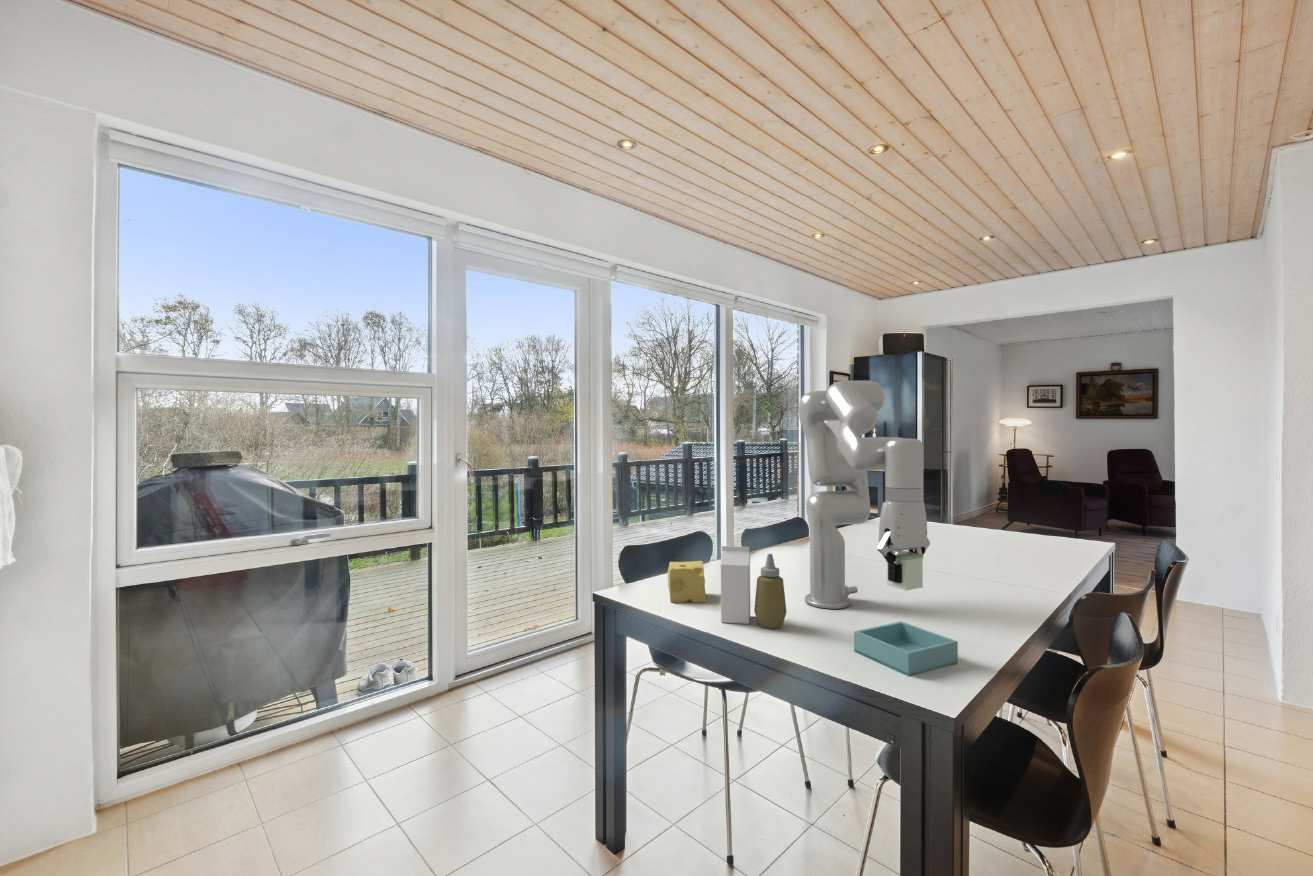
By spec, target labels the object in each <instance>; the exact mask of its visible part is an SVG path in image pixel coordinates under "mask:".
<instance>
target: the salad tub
mask: <svg viewBox="0 0 1313 876" xmlns="http://www.w3.org/2000/svg"><path fill="white" fill-rule="evenodd" d="M893 555H894V556H895V552H894V551H893ZM923 561H924V555H922V554H917V553H912V552H908V551H907V550H902V553H901V558H900V563H899V564H901V565H902V583H896V582H892V581H889V580H888V562H886V586H889V587H893V588H896V589H900V590H903V591H913V590H916V589H921V588H923V587H924V586H923V579H924V578H923V573H924V572H923V567H924V566H923V564H924V563H923Z"/></svg>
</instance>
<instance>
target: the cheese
mask: <svg viewBox="0 0 1313 876" xmlns="http://www.w3.org/2000/svg"><path fill="white" fill-rule="evenodd" d="M667 569H668V570H667V584H668V585H667V587H668V591H669V599H670V600H669V601H670V603H673V604H675V603H687V602H691V603H693V604H694V603H695V604H697V603H698V604H701V603H702V604H703V603H704V604H705V603H706V599H707V593H706V579H705V570H704V569H705V568H704V562H703V561H702V560H694V561H669V564H668V568H667Z"/></svg>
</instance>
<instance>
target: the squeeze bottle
mask: <svg viewBox="0 0 1313 876" xmlns="http://www.w3.org/2000/svg"><path fill="white" fill-rule="evenodd" d="M755 586H756V589H755V600H754V610H753V611H754V615H755V618H756V621H757V624H758V625H759V626H760V627H761V628H764V629H779V628H781V627H783V625H784V622H785V618H786V615H787V603H786V595H785V594H786V593H785V585H784V578H782V577H781V576H780V568H779V567H776V565H775V560H774V557H773V554H772V553H767V556H766V560H765V566H762V567H760V576H758V577H757V578H756V585H755Z"/></svg>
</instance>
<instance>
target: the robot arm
mask: <svg viewBox="0 0 1313 876" xmlns="http://www.w3.org/2000/svg"><path fill="white" fill-rule="evenodd" d="M884 403H885V391H884V388H883V387H882V386H881V385H880V384H879V383H878V382H876V381H874V380H839V381H836V382H834V383H832V384H831V385H830V386H829V387H828V389H826V390H816V391H810V392H806V393H805V394H803V395H802V397H801V398H800V401H799V404H798V417H799V422H800V425H801V429H802V431H803V433H804V437H805V442H806V453H807V454H806V456H807V464H808V465H807V466H808V473H809V474H808V475H809V479H810V482H811V483H812V484H813V485H814V486H818V487H845V488H846V490H822V491H817V492H814V493H812V494H810V495H809V496H808V498H807V499H806V504H805V507H806V515H807V520H808V528H809V529H808V530H809V573H810V574H809V577H810V578H809V585H810V586H809V587H810V589H809V591H810V592H809V594H806V595H805V596H804V602H805V603H806V604H808V605H809V606H811V607H816V608H820V609H830V610H832V609H833V610H835V609H838V610H839V609H845V608H848V607H850V606H851V605H852V600H851V598H850V597H849V595H850V594H856V593H858V592H859V591H858V587H857V586H855V585H854V586H847V585H846V543H845V538H844V536H843V535H842V533H841V532H840V531H839V529H838V528H837V526H841V525H862V524H864V523H866V522H867V521H868V520H869V517H870V515H871V501H870V500H871V499H870V490H869V477H868V471H885V472H884V475H885V476H884V477H885V479H884V480H885V481H884V482H885V488H884V489H885V492H884V494H885V497H884V499H885V500H884V501H883V502H882V505H881V509H880V510H881V511H880V516H879V524H878V525H879V527H878V546H877V551H878V552H879V553H880V554H881V555H882V556H883V558H884V560H885V562H886V563H887V562H888V580H889V581H892V582H896V583H902V565H901V564H899V563H900V558H901V553H902V551H908V552H912V553H917V554H922V555H923V556H924V554H925V553H926V551H927V549H928V548H929V547H930V545H931V542H930V540H929V539H928V522H927V521H928V520H927V513H926V506H925V502H924V446H923V442H922V441H921V440H920V439H919V438H904V437H899V436H898V437H897V436H893V437H891V436H888V437H887V436H864V437H861V436H862V435H865V434H867V433H869V432H870V431H871V430H873V429H874V427H875V426H876V424H877V422H878V419H879V415H878V412H879V411H881V409H882V408H883V406H884ZM826 421H828V422H829V421H835V422H836V421H839V422H840V426H839V429H838V433H837V434H838V435H836V434H835V432H834V430H833V429H832V428H831V427H830V426H829V425H828V424H827V423H826ZM838 449H839V450H838ZM839 451H840V452H839ZM893 552H895V556H894V555H893Z"/></svg>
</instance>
